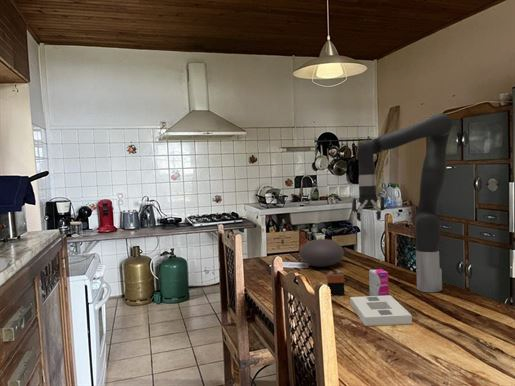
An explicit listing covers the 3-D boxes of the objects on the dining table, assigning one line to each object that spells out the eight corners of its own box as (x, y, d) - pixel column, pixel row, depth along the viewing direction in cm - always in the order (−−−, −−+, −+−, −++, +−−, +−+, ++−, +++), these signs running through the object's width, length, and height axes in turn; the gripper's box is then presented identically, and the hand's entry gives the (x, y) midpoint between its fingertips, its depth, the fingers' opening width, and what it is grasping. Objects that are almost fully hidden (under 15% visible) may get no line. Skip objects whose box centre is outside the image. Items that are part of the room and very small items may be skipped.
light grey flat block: (390, 302, 157) (390, 294, 157) (411, 323, 135) (411, 314, 135) (350, 304, 157) (350, 296, 157) (365, 326, 136) (364, 316, 135)
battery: (344, 295, 169) (343, 272, 169) (328, 296, 170) (327, 273, 169) (343, 292, 173) (342, 270, 173) (327, 292, 174) (326, 270, 173)
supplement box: (376, 301, 160) (375, 273, 159) (369, 296, 166) (368, 269, 165) (389, 299, 161) (388, 271, 161) (381, 295, 167) (380, 268, 166)
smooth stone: (291, 264, 229) (290, 239, 229) (327, 258, 240) (326, 234, 239) (315, 273, 207) (314, 245, 206) (353, 266, 217) (352, 239, 217)
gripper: (380, 183, 183) (381, 218, 183) (349, 185, 183) (351, 220, 184) (385, 184, 175) (387, 220, 176) (353, 185, 175) (355, 222, 176)
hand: (368, 220), depth 180 cm, fingers open, 8 cm apart
